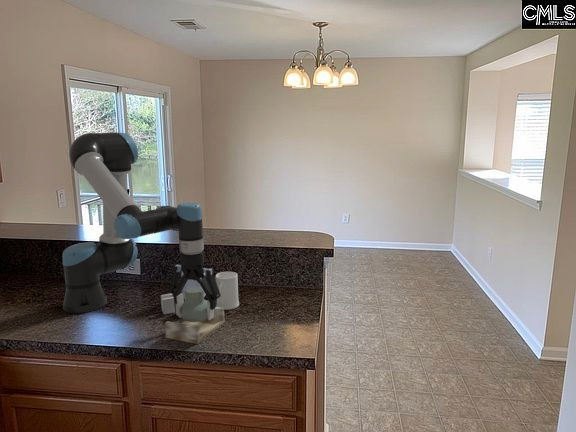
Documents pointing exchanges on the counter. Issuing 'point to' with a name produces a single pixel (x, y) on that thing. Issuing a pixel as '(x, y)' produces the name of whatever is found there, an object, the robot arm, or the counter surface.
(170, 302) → the clip
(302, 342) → the counter surface
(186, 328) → the end holder
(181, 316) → the clip
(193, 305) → the air freshener
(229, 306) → the mug
